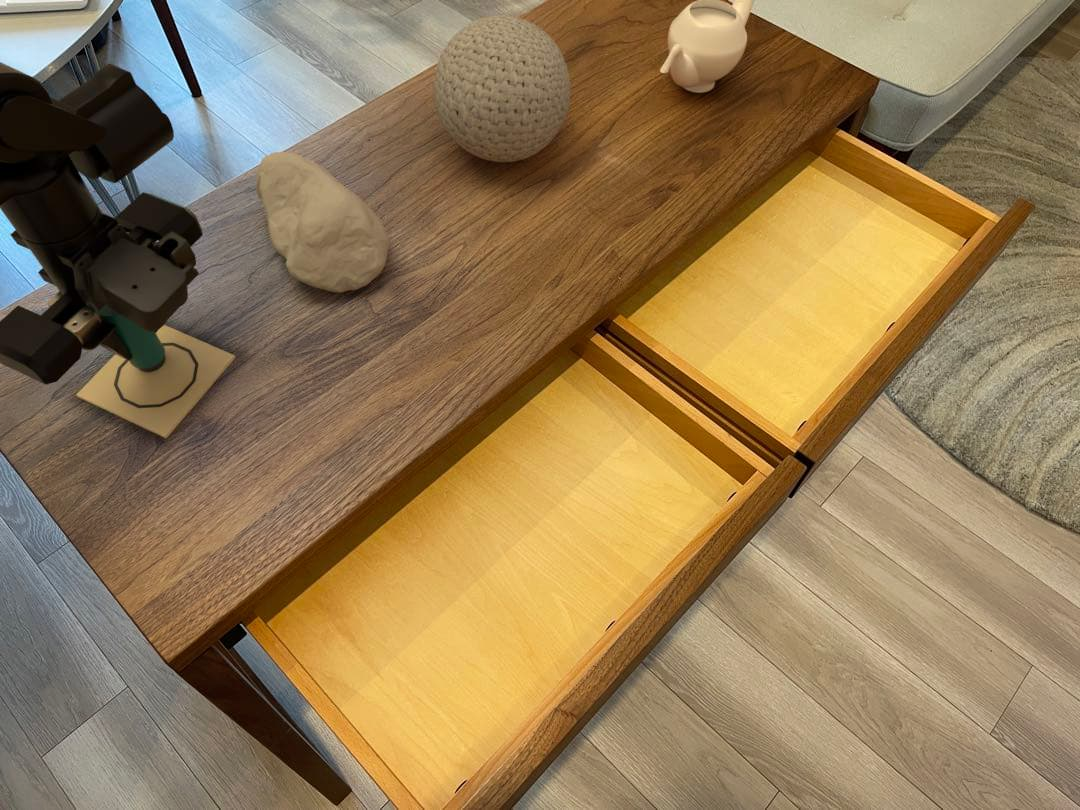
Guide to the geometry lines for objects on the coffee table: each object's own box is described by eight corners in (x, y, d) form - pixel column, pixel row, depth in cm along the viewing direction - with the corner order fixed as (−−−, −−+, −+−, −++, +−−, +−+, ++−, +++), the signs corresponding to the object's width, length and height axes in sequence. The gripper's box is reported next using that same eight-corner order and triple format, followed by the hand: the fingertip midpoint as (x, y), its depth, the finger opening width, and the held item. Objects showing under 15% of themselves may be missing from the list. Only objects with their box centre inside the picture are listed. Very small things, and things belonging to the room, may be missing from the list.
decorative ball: (579, 120, 95) (590, 0, 83) (548, 202, 87) (554, 83, 75) (462, 96, 97) (455, -25, 84) (421, 175, 89) (406, 54, 76)
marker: (126, 367, 73) (84, 308, 66) (149, 342, 74) (111, 282, 67) (153, 379, 72) (115, 321, 65) (176, 355, 74) (141, 295, 67)
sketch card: (77, 397, 71) (75, 394, 71) (151, 320, 76) (149, 317, 76) (166, 438, 69) (164, 436, 69) (235, 357, 74) (234, 354, 74)
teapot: (621, 101, 98) (631, 31, 90) (708, 33, 106) (724, -36, 99) (684, 135, 95) (701, 66, 87) (768, 62, 103) (790, -7, 96)
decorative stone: (418, 249, 79) (351, 206, 70) (357, 323, 81) (284, 289, 72) (340, 164, 87) (272, 116, 79) (286, 232, 89) (214, 192, 81)
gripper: (48, 344, 52) (141, 459, 65) (225, 174, 61) (274, 304, 74) (-77, 287, 54) (37, 409, 67) (111, 131, 63) (179, 265, 76)
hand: (139, 344), depth 71 cm, fingers closed on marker, 3 cm apart
